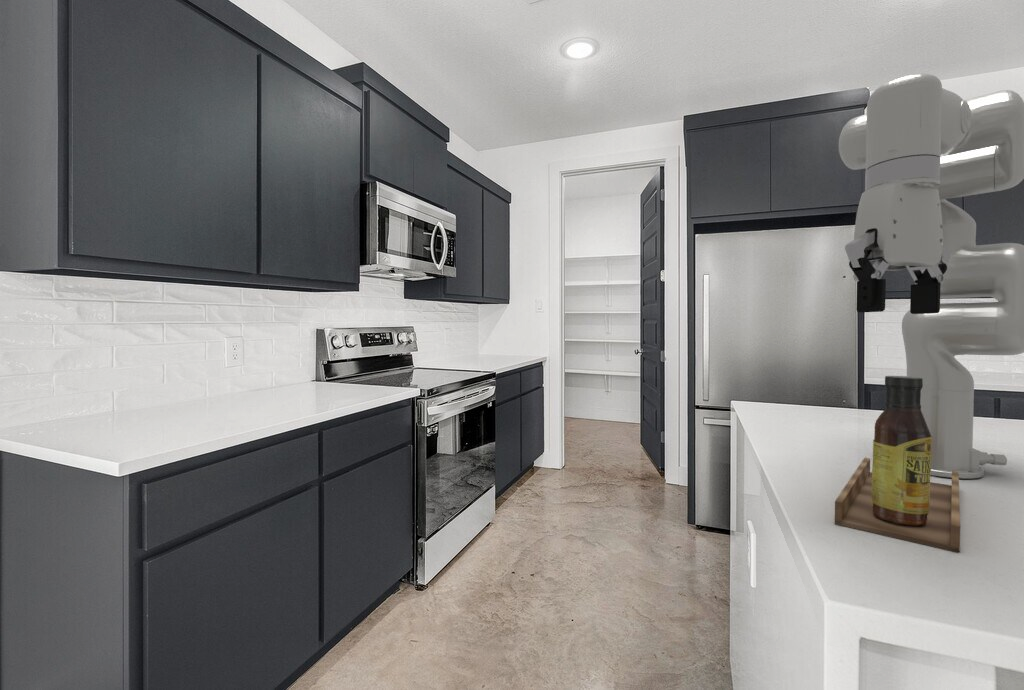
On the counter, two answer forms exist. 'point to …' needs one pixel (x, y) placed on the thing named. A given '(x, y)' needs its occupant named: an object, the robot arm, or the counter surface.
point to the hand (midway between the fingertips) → (898, 312)
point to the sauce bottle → (902, 455)
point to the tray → (936, 532)
